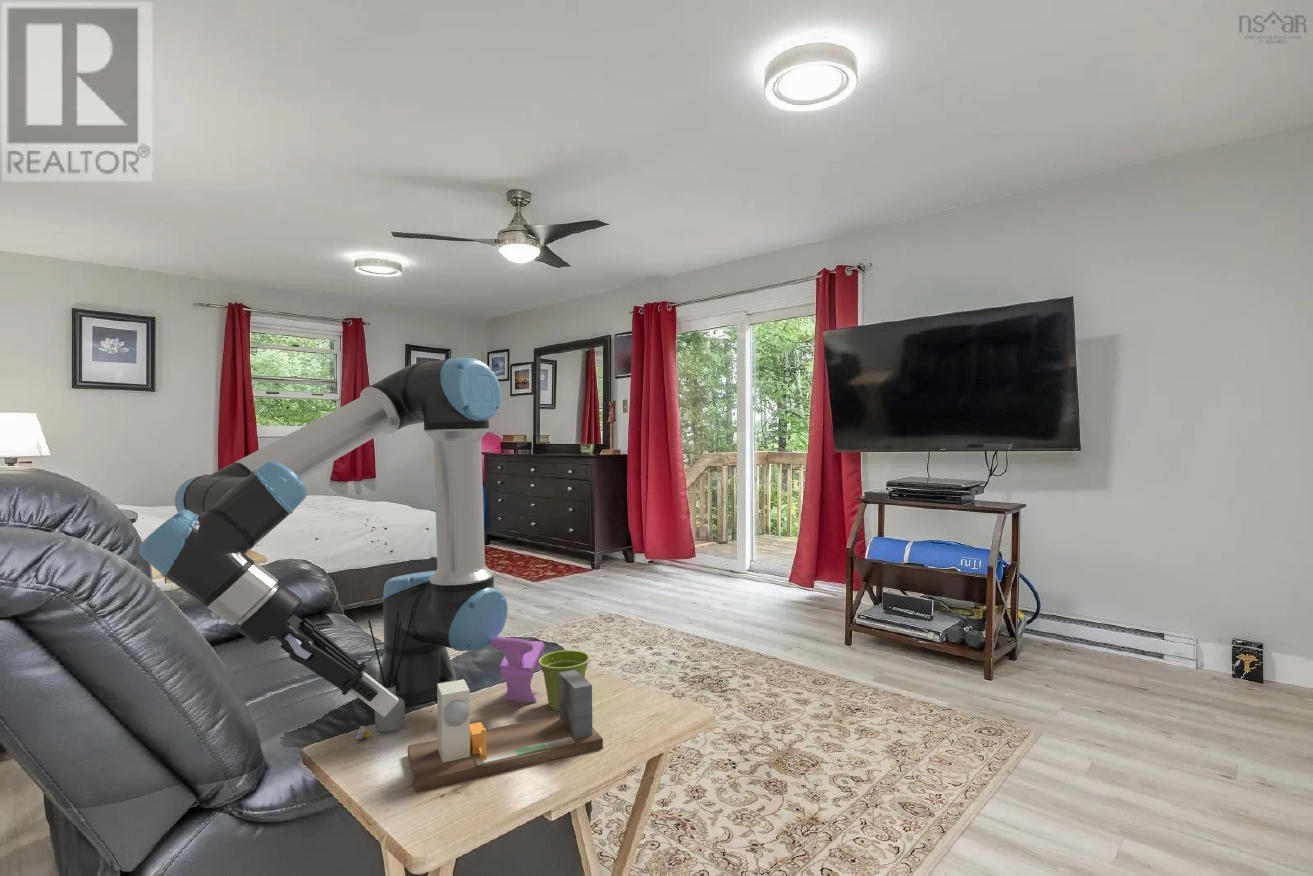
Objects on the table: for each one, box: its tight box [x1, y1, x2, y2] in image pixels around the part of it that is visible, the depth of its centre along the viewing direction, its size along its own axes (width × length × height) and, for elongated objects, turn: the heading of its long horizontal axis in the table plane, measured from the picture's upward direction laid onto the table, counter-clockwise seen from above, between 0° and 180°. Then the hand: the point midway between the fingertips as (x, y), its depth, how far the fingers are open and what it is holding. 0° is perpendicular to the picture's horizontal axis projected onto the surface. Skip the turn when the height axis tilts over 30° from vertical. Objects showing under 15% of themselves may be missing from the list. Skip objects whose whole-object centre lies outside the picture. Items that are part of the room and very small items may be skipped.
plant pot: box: [539, 649, 591, 712], centre depth 119 cm, size 9×9×9 cm
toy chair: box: [490, 636, 546, 703], centre depth 121 cm, size 8×9×15 cm
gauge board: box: [407, 670, 604, 793], centre depth 101 cm, size 12×28×10 cm, turn 116°
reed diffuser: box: [355, 611, 414, 740], centre depth 108 cm, size 10×7×20 cm
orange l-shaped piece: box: [470, 721, 487, 761], centre depth 97 cm, size 8×2×5 cm, turn 26°
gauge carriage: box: [436, 678, 471, 763], centre depth 97 cm, size 6×4×10 cm
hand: (391, 707), depth 93 cm, fingers closed
